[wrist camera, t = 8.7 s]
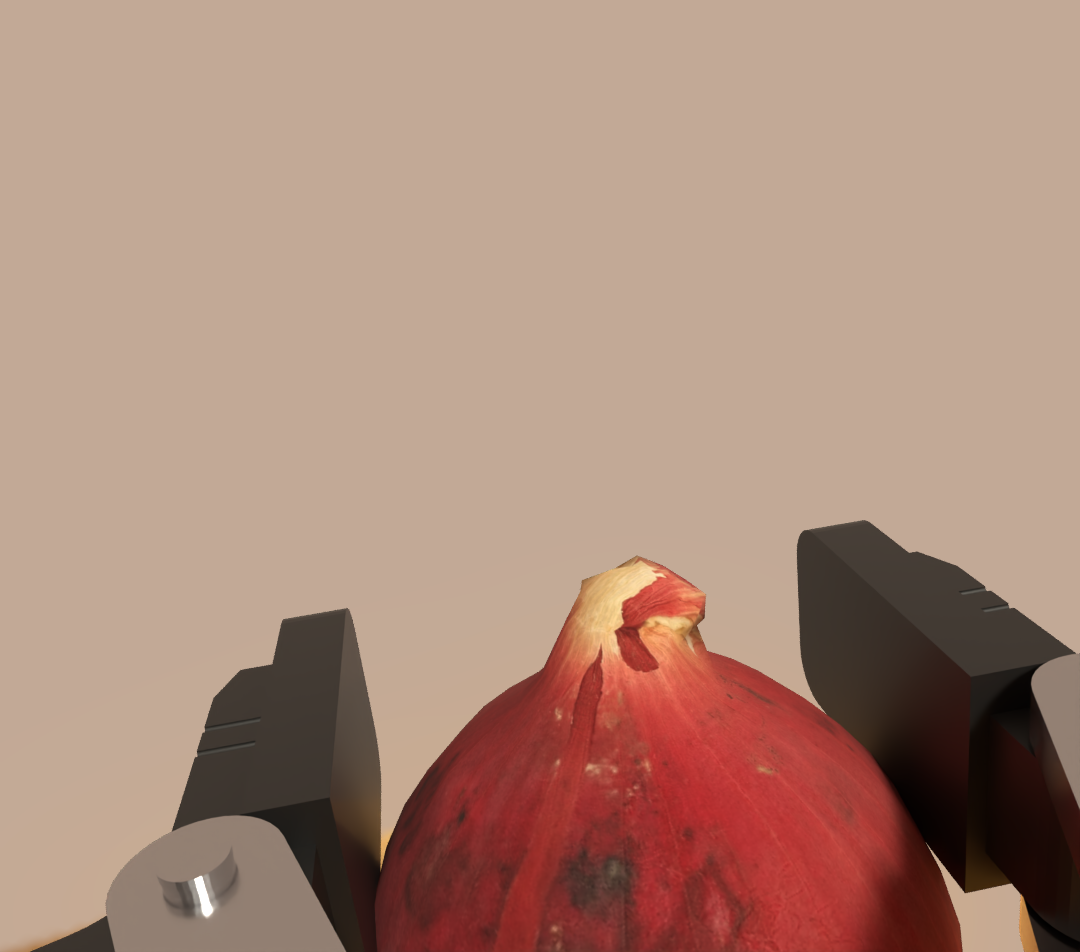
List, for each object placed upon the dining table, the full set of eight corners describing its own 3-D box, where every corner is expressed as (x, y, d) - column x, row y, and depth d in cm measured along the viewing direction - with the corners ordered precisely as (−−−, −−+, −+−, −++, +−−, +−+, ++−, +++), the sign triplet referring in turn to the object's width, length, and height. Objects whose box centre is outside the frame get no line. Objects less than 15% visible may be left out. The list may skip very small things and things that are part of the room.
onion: (966, 1724, 8) (1000, 871, 5) (324, 1438, 10) (109, 739, 7) (960, 1064, 13) (976, 468, 10) (538, 971, 15) (459, 463, 12)
